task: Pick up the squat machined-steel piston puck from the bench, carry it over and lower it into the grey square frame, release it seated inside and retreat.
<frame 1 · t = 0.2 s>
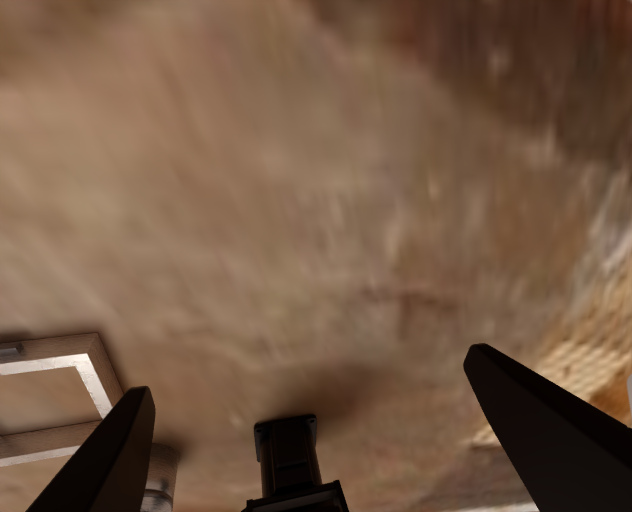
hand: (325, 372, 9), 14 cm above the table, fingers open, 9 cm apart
piston: (146, 460, 33), on the table
grey square frame: (41, 392, 25), on the table
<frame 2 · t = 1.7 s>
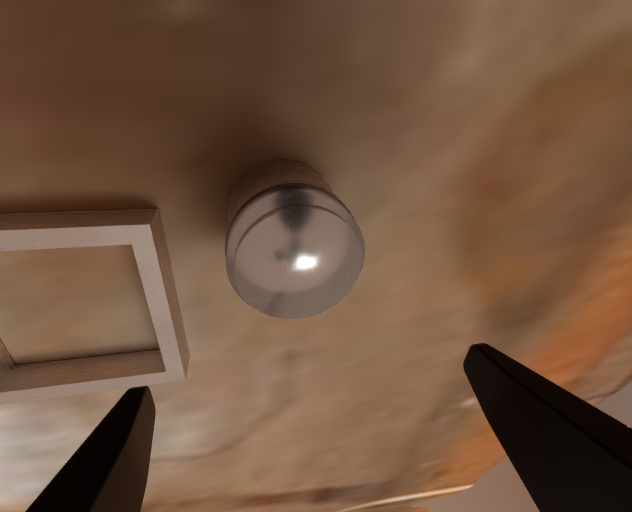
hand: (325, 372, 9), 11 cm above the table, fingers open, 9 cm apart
piston: (282, 212, 19), on the table
grey square frame: (74, 301, 19), on the table
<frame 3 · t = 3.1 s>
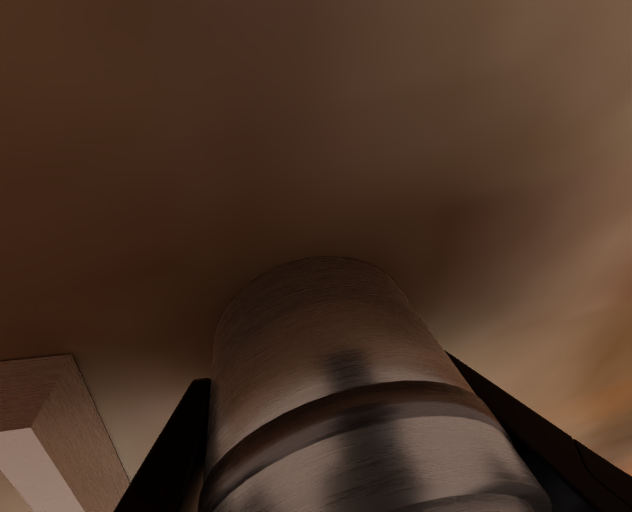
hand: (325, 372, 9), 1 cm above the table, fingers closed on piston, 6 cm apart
piston: (315, 340, 10), on the table, touching gripper
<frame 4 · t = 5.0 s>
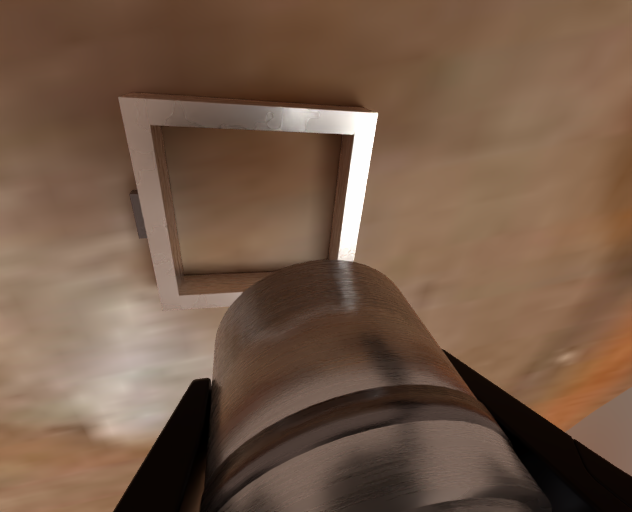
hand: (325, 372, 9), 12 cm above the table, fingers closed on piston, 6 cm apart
piston: (316, 342, 10), point 11 cm above the table, touching gripper
grey square frame: (257, 206, 19), on the table
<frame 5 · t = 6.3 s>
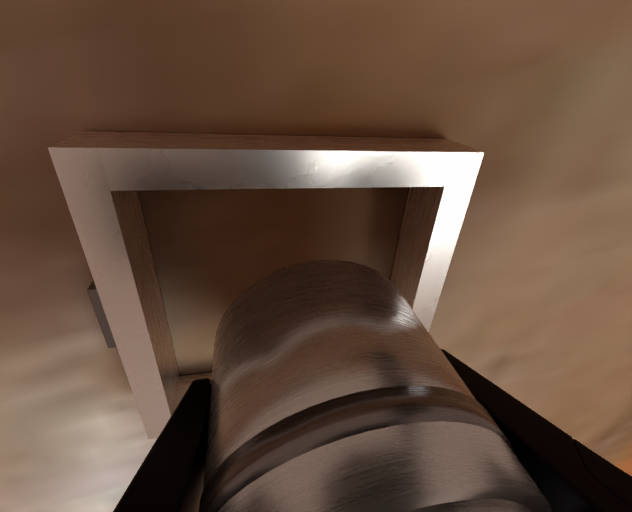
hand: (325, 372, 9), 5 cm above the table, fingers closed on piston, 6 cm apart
piston: (315, 343, 10), point 3 cm above the table, touching gripper
grey square frame: (284, 283, 13), on the table
when the fingers open (3 cm above the table, at t = 7.1 s): piston drops 2 cm, resting in grey square frame.
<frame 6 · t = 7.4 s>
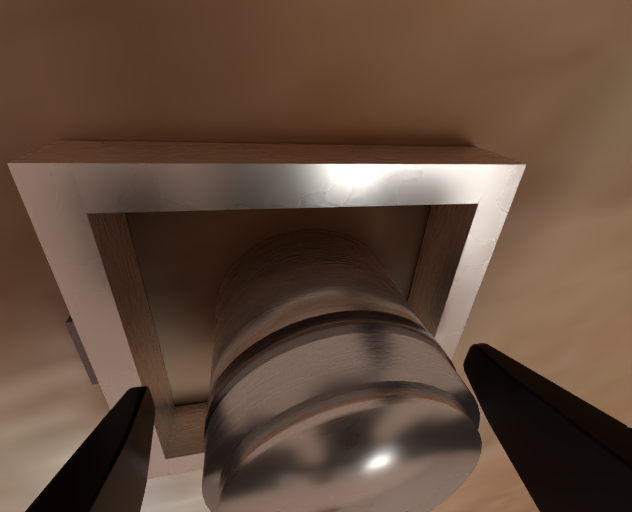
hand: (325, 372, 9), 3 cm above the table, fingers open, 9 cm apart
piston: (304, 305, 12), resting in grey square frame
grey square frame: (291, 306, 11), on the table
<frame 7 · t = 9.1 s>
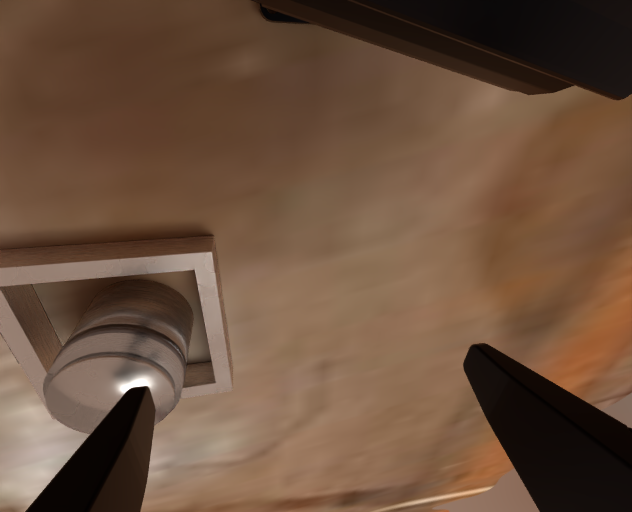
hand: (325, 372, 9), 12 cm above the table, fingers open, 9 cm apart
piston: (143, 319, 21), resting in grey square frame
grey square frame: (134, 320, 20), on the table
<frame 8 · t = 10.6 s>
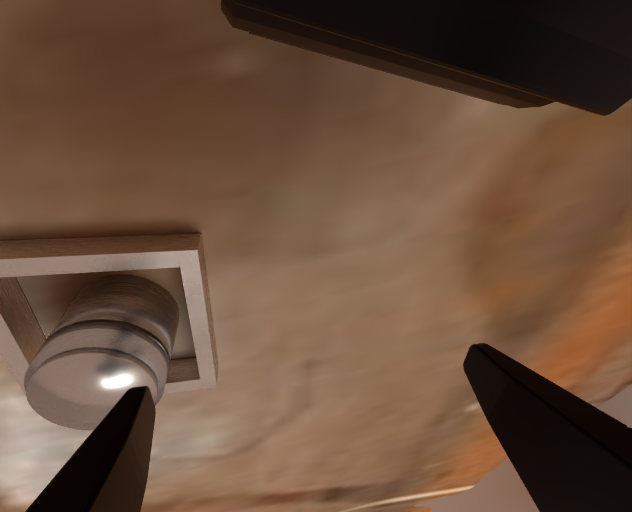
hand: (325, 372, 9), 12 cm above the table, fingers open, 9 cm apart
piston: (128, 314, 21), resting in grey square frame
grey square frame: (119, 314, 20), on the table
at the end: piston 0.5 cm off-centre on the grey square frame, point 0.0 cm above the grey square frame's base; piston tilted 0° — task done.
